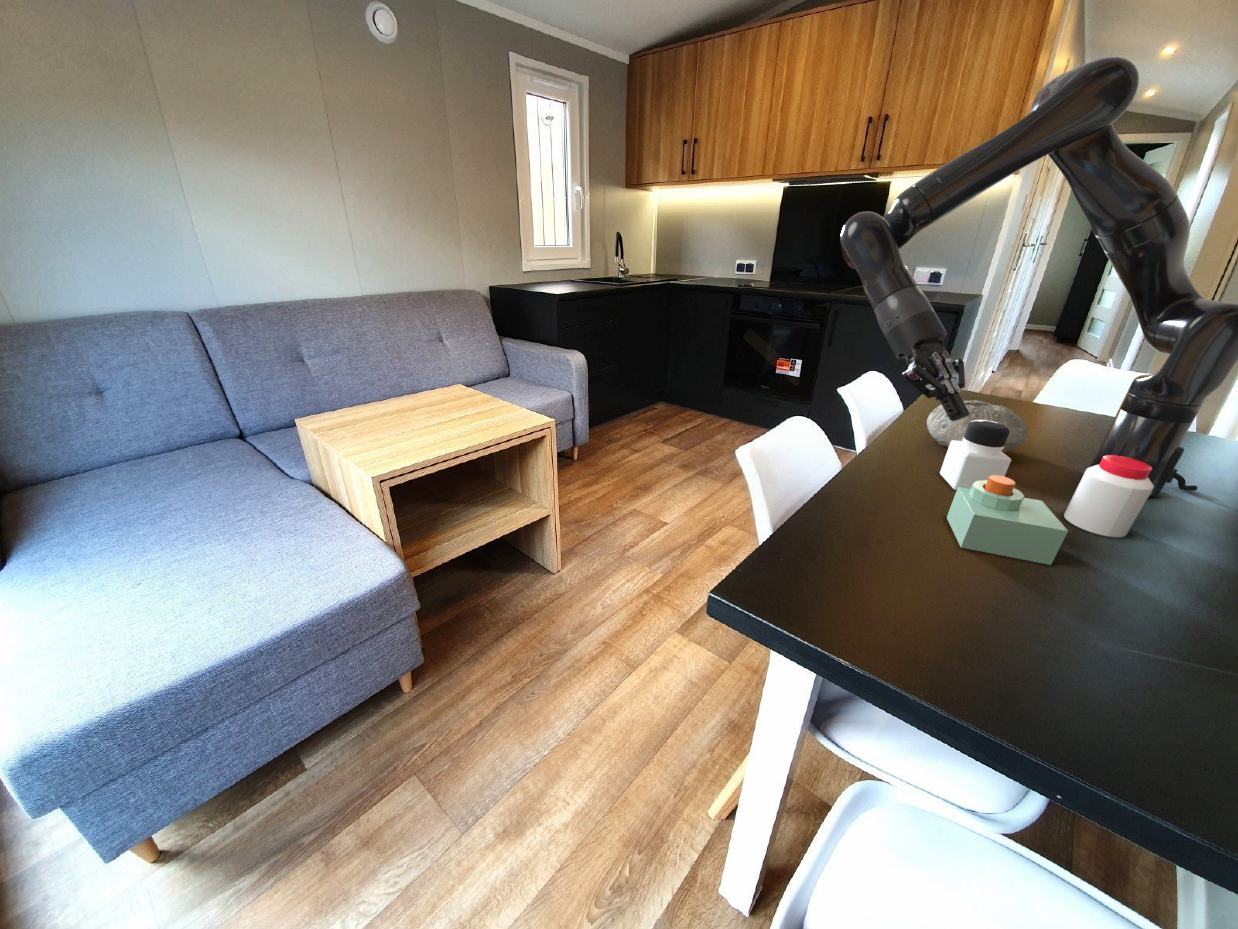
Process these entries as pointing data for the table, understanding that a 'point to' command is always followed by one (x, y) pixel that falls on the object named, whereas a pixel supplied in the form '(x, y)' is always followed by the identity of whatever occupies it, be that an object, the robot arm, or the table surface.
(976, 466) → the medicine bottle
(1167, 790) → the table surface
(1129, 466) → the pill bottle
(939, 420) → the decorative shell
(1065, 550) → the table surface
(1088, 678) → the table surface
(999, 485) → the orange push button
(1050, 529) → the button base
